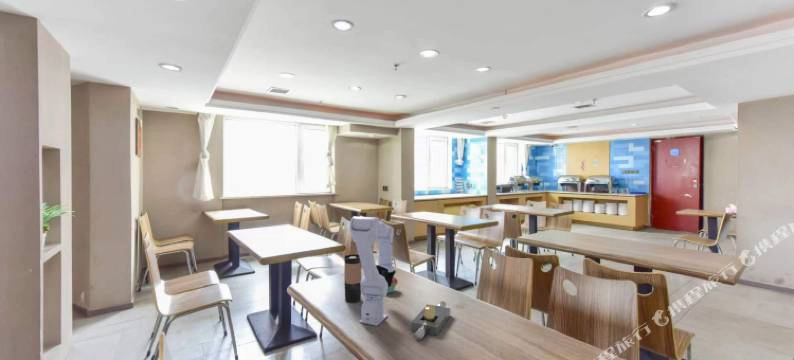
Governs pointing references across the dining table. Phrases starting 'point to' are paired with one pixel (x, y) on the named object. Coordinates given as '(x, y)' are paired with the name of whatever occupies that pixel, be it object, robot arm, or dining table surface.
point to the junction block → (430, 327)
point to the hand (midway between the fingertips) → (385, 283)
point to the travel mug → (352, 278)
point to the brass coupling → (429, 314)
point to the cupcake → (392, 285)
